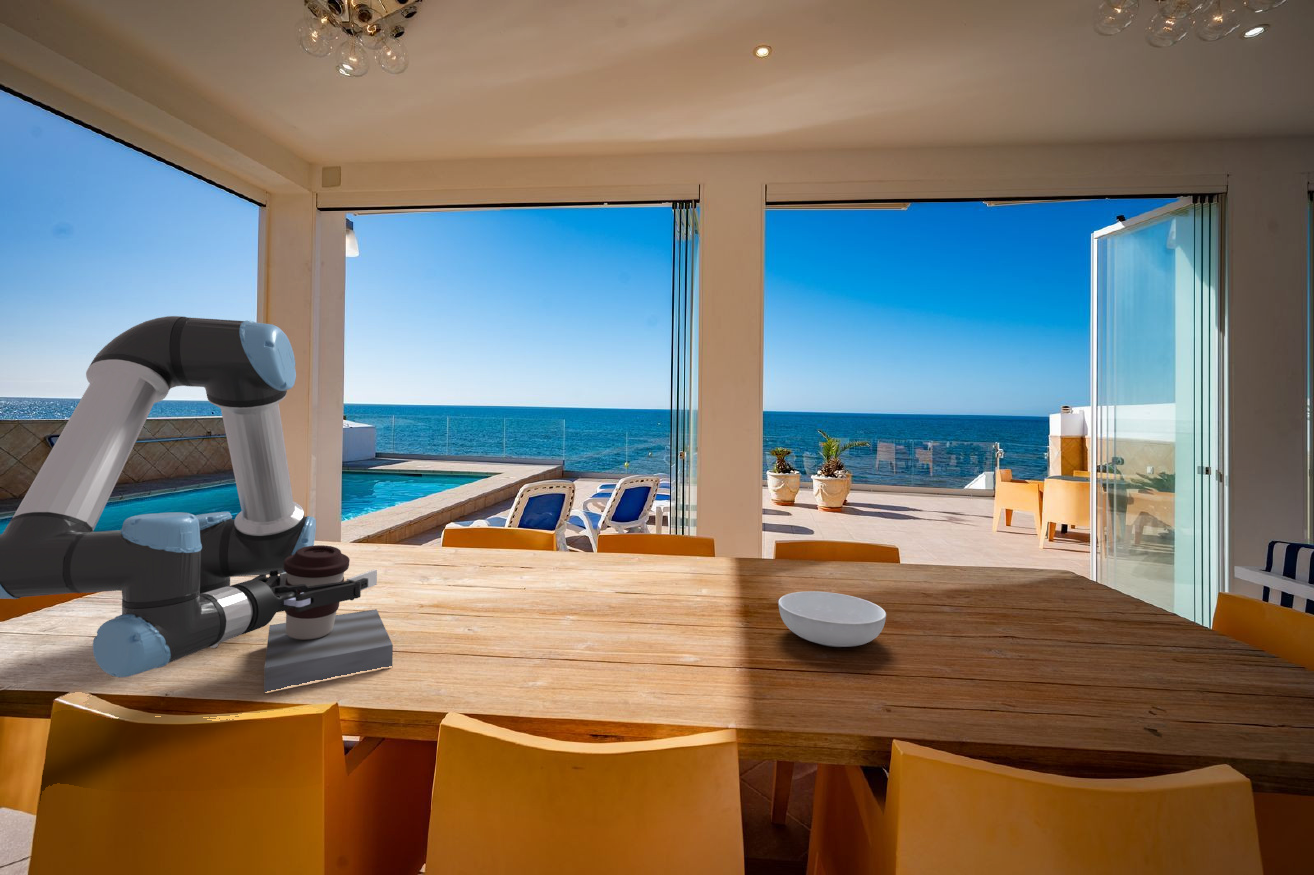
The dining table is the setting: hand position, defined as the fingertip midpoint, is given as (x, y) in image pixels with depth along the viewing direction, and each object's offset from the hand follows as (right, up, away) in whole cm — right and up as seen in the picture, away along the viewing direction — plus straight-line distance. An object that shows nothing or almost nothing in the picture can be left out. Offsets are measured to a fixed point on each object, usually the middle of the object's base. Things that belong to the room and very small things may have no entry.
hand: (343, 574), depth 101 cm
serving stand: (-1, -14, -3) cm, 14 cm away
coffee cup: (-4, -10, -3) cm, 11 cm away
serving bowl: (+94, -16, +10) cm, 96 cm away
